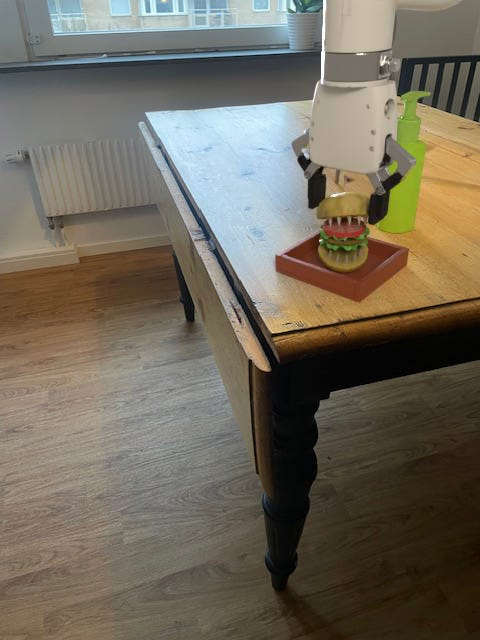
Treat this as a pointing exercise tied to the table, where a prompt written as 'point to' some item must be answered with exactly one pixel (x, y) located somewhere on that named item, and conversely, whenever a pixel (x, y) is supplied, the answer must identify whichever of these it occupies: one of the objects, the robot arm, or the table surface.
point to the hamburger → (344, 230)
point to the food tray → (353, 285)
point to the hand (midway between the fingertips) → (345, 213)
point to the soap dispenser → (408, 190)
